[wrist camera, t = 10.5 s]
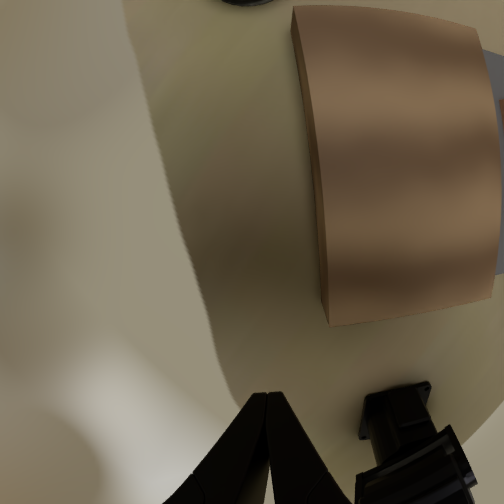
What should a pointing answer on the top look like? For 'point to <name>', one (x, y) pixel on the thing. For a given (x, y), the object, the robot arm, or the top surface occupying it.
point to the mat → (500, 74)
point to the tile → (502, 110)
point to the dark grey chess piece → (246, 2)
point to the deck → (399, 160)
